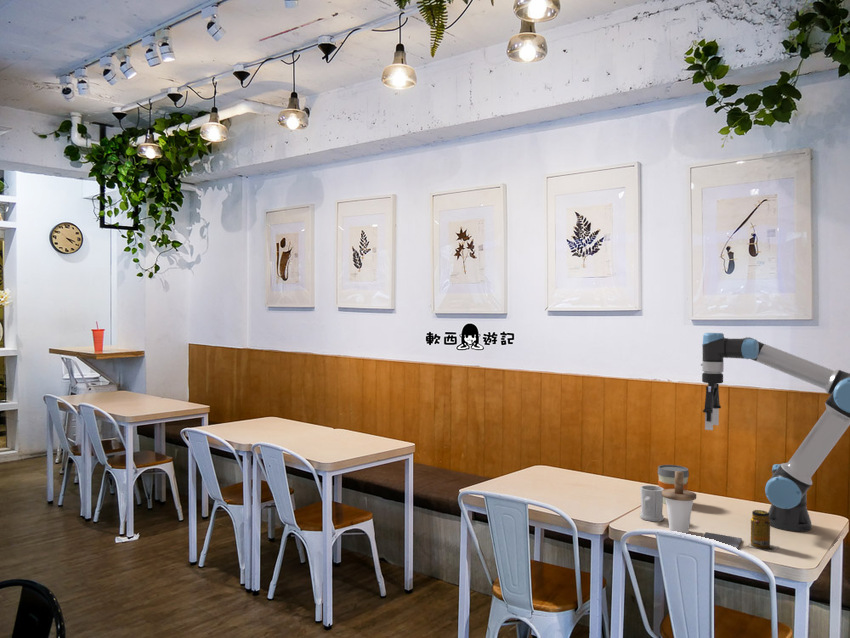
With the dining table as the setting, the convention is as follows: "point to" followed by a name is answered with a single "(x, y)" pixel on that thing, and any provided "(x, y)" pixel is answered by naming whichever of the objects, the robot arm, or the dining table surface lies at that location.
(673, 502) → the foam cup
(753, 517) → the condiment
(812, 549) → the dining table surface
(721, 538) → the mat
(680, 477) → the lid
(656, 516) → the cup
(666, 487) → the reusable coffee cup
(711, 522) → the dining table surface
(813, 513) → the dining table surface
